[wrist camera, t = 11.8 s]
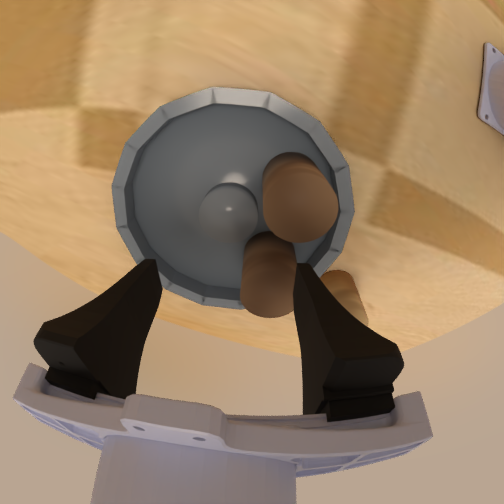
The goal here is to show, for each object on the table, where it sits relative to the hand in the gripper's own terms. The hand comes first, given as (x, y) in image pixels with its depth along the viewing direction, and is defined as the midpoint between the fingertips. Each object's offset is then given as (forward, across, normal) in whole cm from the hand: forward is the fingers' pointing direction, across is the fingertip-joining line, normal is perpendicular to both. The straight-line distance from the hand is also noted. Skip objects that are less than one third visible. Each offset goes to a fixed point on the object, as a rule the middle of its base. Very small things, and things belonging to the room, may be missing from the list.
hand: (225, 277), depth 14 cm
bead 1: (+7, -3, +3) cm, 8 cm away
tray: (+8, 0, 0) cm, 8 cm away
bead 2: (+7, -4, -3) cm, 9 cm away
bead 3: (+8, -9, +8) cm, 14 cm away
